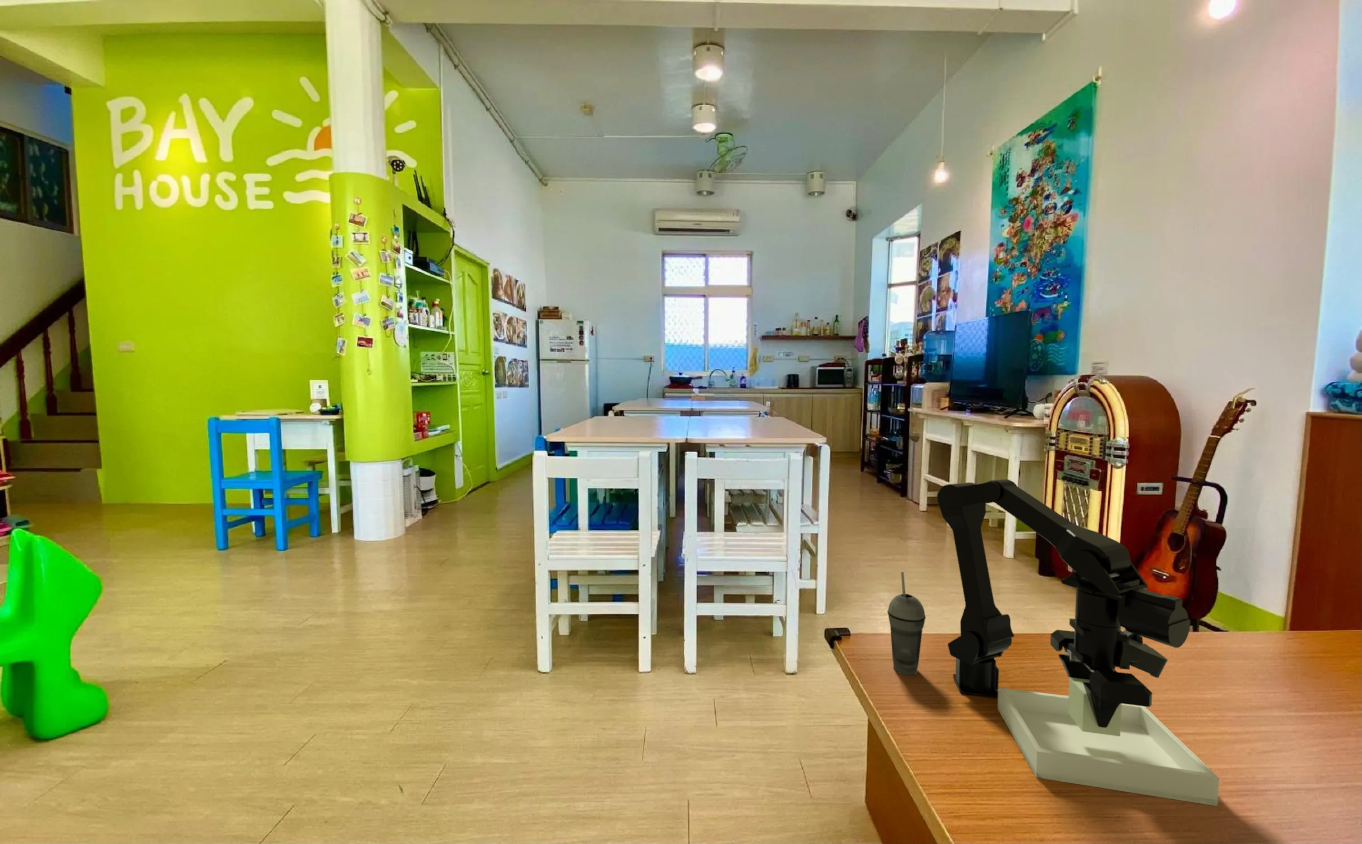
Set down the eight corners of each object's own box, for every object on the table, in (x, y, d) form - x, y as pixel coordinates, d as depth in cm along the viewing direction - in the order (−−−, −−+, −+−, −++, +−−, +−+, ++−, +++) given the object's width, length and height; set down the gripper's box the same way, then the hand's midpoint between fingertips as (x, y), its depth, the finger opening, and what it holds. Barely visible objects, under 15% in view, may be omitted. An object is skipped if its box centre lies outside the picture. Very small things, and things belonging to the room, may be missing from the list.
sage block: (1082, 731, 84) (1083, 693, 83) (1067, 713, 88) (1069, 677, 88) (1120, 736, 82) (1121, 698, 82) (1103, 717, 87) (1105, 681, 87)
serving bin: (1036, 777, 80) (1037, 751, 79) (997, 709, 97) (998, 687, 97) (1217, 806, 74) (1219, 778, 74) (1142, 728, 91) (1143, 705, 91)
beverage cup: (907, 682, 106) (909, 582, 105) (878, 665, 113) (880, 571, 112) (932, 673, 110) (934, 576, 109) (902, 657, 116) (904, 566, 115)
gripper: (1199, 654, 74) (1194, 764, 74) (1125, 603, 92) (1121, 692, 92) (1104, 644, 76) (1100, 751, 77) (1050, 596, 94) (1047, 683, 95)
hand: (1093, 716), depth 85 cm, fingers closed on sage block, 5 cm apart
